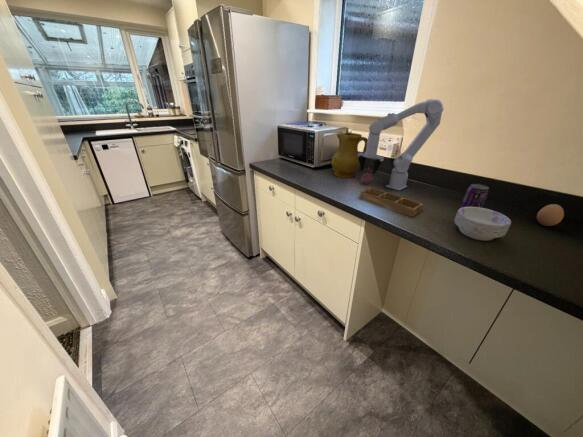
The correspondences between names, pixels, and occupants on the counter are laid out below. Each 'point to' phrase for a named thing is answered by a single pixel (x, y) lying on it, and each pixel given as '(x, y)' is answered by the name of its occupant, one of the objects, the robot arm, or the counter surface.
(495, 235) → the paper bowls
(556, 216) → the egg
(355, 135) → the pitcher
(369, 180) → the vegetable
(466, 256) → the counter surface
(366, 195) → the tray
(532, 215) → the counter surface
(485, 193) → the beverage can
